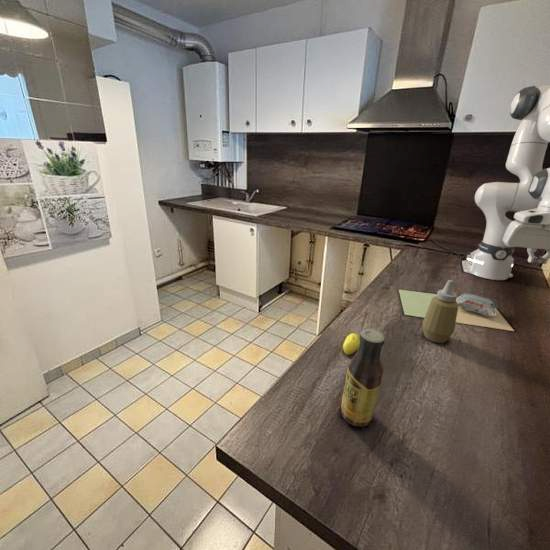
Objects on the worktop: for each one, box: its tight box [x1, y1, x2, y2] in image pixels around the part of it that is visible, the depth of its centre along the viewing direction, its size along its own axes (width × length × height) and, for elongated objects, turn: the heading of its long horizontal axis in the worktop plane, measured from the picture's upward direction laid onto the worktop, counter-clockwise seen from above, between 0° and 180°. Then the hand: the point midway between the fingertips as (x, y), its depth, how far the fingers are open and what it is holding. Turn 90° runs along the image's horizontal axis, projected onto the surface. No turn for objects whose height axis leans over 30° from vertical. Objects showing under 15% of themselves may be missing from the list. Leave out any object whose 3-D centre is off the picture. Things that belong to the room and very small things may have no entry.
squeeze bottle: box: [421, 279, 458, 344], centre depth 80 cm, size 8×8×18 cm
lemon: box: [342, 332, 360, 356], centre depth 77 cm, size 4×8×4 cm, turn 145°
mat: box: [398, 289, 515, 332], centre depth 100 cm, size 20×31×1 cm, turn 74°
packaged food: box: [457, 292, 499, 316], centre depth 98 cm, size 9×12×5 cm
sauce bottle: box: [340, 328, 386, 428], centre depth 54 cm, size 6×6×20 cm
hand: (536, 262), depth 88 cm, fingers closed
